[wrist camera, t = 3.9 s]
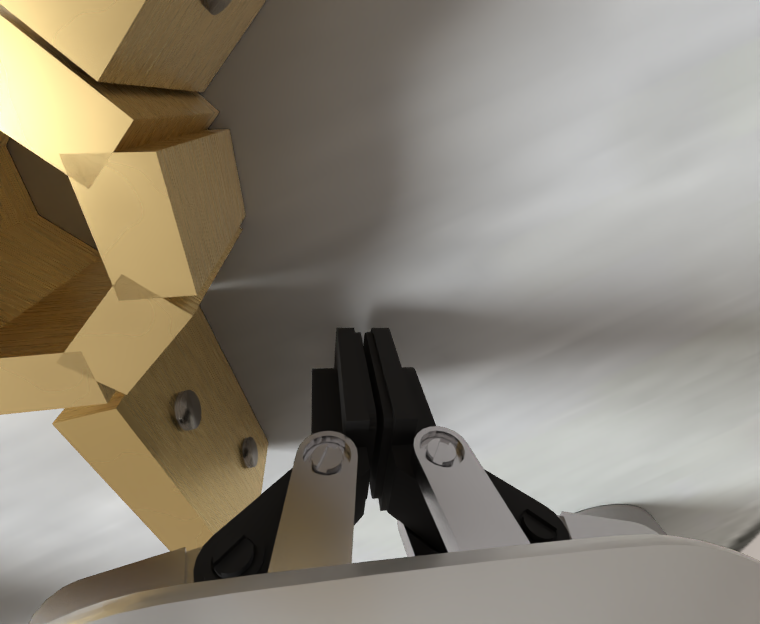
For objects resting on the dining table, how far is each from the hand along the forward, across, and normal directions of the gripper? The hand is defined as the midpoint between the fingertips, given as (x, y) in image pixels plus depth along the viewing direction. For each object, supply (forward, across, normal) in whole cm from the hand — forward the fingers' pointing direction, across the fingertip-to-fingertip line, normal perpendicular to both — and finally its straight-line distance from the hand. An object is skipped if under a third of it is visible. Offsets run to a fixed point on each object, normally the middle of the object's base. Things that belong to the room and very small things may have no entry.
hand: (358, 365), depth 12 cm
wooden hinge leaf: (+1, +5, +2) cm, 5 cm away
